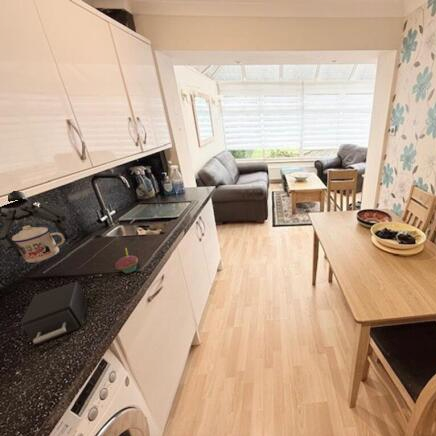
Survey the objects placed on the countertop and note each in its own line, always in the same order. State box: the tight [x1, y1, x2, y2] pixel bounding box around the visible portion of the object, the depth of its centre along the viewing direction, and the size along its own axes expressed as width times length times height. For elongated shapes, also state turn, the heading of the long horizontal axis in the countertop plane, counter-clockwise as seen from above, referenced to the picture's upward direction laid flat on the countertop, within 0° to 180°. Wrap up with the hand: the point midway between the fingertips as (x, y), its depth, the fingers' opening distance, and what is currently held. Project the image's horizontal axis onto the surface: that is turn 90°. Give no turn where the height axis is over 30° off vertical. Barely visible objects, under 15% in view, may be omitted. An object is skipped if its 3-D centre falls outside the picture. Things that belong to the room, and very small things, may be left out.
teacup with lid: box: [11, 225, 66, 264], centre depth 82 cm, size 12×9×12 cm
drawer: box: [22, 309, 80, 346], centre depth 78 cm, size 17×10×8 cm, turn 33°
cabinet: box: [19, 281, 88, 341], centre depth 81 cm, size 15×12×10 cm
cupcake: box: [114, 247, 139, 274], centre depth 105 cm, size 9×8×12 cm
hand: (44, 245), depth 81 cm, fingers closed on teacup with lid, 11 cm apart
